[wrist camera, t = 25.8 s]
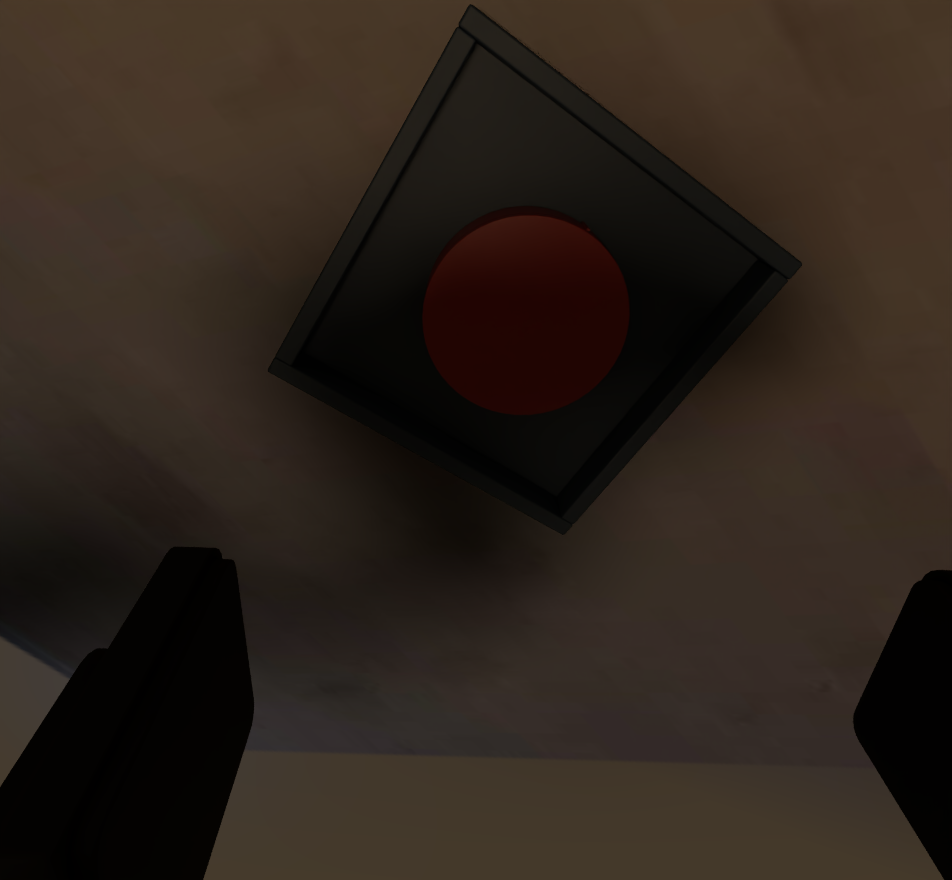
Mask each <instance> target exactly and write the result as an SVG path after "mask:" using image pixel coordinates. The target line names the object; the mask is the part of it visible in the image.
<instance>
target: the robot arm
mask: <svg viewBox="0 0 952 880" xmlns="http://www.w3.org/2000/svg"><path fill="white" fill-rule="evenodd" d="M253 714H254V697H253V690H252V682H251V675H250V667H249V660H248V652H247V645H246V638H245V630H244V623H243V615H242V608H241V600H240V593H239V585H238V578H237V570H236V565H235V562H234V561H233V560H231V559H223V558H222V554H221V552H220V550H219V549H217V548H203V547H173V548H171V549H170V550H169V551H168V552H167V553H166V555H165V557H164V558H163V560H162V562H161V563H160V565H159V566H158V568H157V570H156V571H155V573H154V575H153V576H152V578H151V579H150V581H149V583H148V584H147V586H146V588H145V589H144V591H143V592H142V594H141V596H140V597H139V599H138V601H137V602H136V604H135V605H134V607H133V609H132V610H131V612H130V614H129V615H128V617H127V618H126V620H125V622H124V623H123V625H122V627H121V628H120V630H119V632H118V633H117V635H116V636H115V638H114V640H113V641H112V643H111V645H110V646H109V648H108V649H106V648H97V649H95V650H93V651H92V652H90V653H89V654H88V655H87V656H86V657H85V658H84V660H83V661H82V662H81V663H80V664H79V666H78V668H77V669H76V671H75V672H74V674H73V675H72V677H71V678H70V680H69V682H68V683H67V685H66V686H65V688H64V689H63V691H62V693H61V694H60V695H59V697H58V699H57V700H56V702H55V703H54V705H53V706H52V708H51V709H50V711H49V712H48V714H47V716H46V717H45V719H44V720H43V722H42V723H41V725H40V726H39V728H38V729H37V731H36V732H35V734H34V736H33V737H32V739H31V740H30V742H29V743H28V745H27V746H26V748H25V750H24V751H23V753H22V754H21V756H20V757H19V759H18V760H17V762H16V763H15V765H14V766H13V768H12V770H11V771H10V773H9V774H8V776H7V777H6V779H5V780H4V782H3V783H2V785H1V787H0V880H203V878H204V875H205V872H206V869H207V866H208V862H209V859H210V856H211V853H212V850H213V847H214V844H215V840H216V837H217V834H218V831H219V828H220V825H221V822H222V818H223V815H224V812H225V809H226V806H227V803H228V799H229V796H230V793H231V790H232V787H233V784H234V780H235V777H236V774H237V771H238V768H239V765H240V761H241V758H242V755H243V752H244V749H245V746H246V743H247V739H248V736H249V733H250V730H251V726H252V721H253ZM853 724H854V730H855V733H856V736H857V738H858V740H859V742H860V743H861V745H862V747H863V748H864V750H865V752H866V753H867V755H868V756H869V758H870V760H871V761H872V763H873V765H874V766H875V768H876V769H877V771H878V773H879V774H880V776H881V778H882V779H883V781H884V782H885V784H886V786H887V787H888V789H889V791H890V792H891V794H892V795H893V797H894V798H895V800H896V802H897V804H898V805H899V807H900V808H901V810H902V812H903V813H904V815H905V817H906V818H907V820H908V821H909V823H910V825H911V826H912V828H913V829H914V831H915V833H916V834H917V836H918V838H919V839H920V841H921V843H922V844H923V846H924V847H925V849H926V851H927V852H928V854H929V856H930V857H931V859H932V860H933V862H934V864H935V865H936V867H937V869H938V870H939V872H940V873H941V875H942V877H943V878H944V880H952V570H935V571H930V572H929V573H927V574H926V575H925V576H924V577H923V579H922V580H921V581H918V582H916V583H915V584H914V585H913V587H912V588H911V591H910V593H909V595H908V597H907V599H906V601H905V604H904V606H903V608H902V610H901V612H900V614H899V617H898V619H897V621H896V623H895V625H894V627H893V630H892V632H891V634H890V636H889V638H888V640H887V642H886V645H885V647H884V649H883V651H882V653H881V655H880V658H879V660H878V662H877V664H876V666H875V668H874V671H873V673H872V675H871V677H870V679H869V681H868V684H867V686H866V688H865V690H864V692H863V694H862V697H861V699H860V701H859V703H858V705H857V707H856V709H855V712H854V717H853Z"/></svg>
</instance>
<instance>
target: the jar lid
mask: <svg viewBox="0 0 952 880" xmlns="http://www.w3.org/2000/svg"><path fill="white" fill-rule="evenodd" d="M629 316H630V309H629V297H628V291H627V287H626V283H625V280H624V277H623V275H622V272H621V270H620V268H619V266H618V264H617V263H616V261H615V260H614V258H613V257H612V255H611V254H610V252H609V251H608V250H607V248H606V247H605V246H604V245H603V244H602V242H601V241H600V240H599V239H598V238H597V237H596V236H595V235H594V233H593V232H592V231H590V228H589V227H588V226H587V224H586V223H585V222H584V221H582V222H581V223H580V222H579V221H577V220H575V219H574V218H572V217H570V216H568V215H566V214H563V213H561V212H559V211H555V210H552V209H548V208H543V207H535V206H517V207H510V208H504V209H500V210H497V211H493V212H491V213H488V214H486V215H484V216H481V217H479V218H477V219H476V220H474V221H473V222H471V223H469V224H468V225H466V226H465V227H464V228H463V229H461V230H460V231H459V232H458V233H457V234H456V235H455V236H454V237H453V238H452V239H451V240H450V241H449V242H448V243H447V244H446V246H445V247H444V249H443V250H442V251H441V253H440V254H439V256H438V258H437V260H436V262H435V264H434V265H433V268H432V271H431V273H430V276H429V280H428V284H427V288H426V293H425V298H424V303H423V314H422V321H423V333H424V338H425V343H426V346H427V349H428V352H429V355H430V357H431V359H432V361H433V363H434V365H435V367H436V368H437V370H438V371H439V373H440V374H441V376H442V377H443V378H444V379H445V381H446V382H447V383H448V384H449V385H450V386H451V387H452V388H453V389H454V390H455V391H457V392H458V393H459V394H460V395H462V396H463V397H465V398H466V399H468V400H469V401H471V402H473V403H475V404H477V405H479V406H481V407H483V408H486V409H489V410H492V411H496V412H500V413H504V414H513V415H532V414H539V413H545V412H549V411H553V410H556V409H559V408H561V407H564V406H567V405H568V404H570V403H572V402H574V401H576V400H578V399H580V398H581V397H582V396H584V395H585V394H587V393H588V392H590V391H591V390H592V389H593V388H594V387H595V386H596V385H598V384H599V383H600V381H601V380H602V379H603V378H604V377H605V376H606V375H607V374H608V372H609V371H610V369H611V368H612V367H613V365H614V364H615V362H616V360H617V358H618V356H619V354H620V353H621V350H622V347H623V345H624V342H625V339H626V335H627V331H628V326H629Z"/></svg>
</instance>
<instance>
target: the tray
mask: <svg viewBox="0 0 952 880" xmlns="http://www.w3.org/2000/svg"><path fill="white" fill-rule="evenodd" d="M517 206H535V207H543V208H548V209H552V210H555V211H559V212H561V213H563V214H566V215H568V216H570V217H572V218H574V219H575V220H577V221H579V222H580V223H581V222H582V221H584V222H585V223H586V224H587V226H588V227H589V228H590V231H592V232H593V233H594V235H595V236H596V237H597V238H598V239H599V240H600V241H601V242H602V244H603V245H604V246H605V247H606V248H607V250H608V251H609V252H610V254H611V255H612V257H613V258H614V260H615V261H616V263H617V264H618V266H619V268H620V270H621V272H622V275H623V277H624V280H625V283H626V287H627V291H628V297H629V309H630V316H629V326H628V331H627V335H626V339H625V342H624V345H623V347H622V350H621V353H620V354H619V356H618V358H617V360H616V362H615V364H614V365H613V367H612V368H611V369H610V371H609V372H608V374H607V375H606V376H605V377H604V378H603V379H602V380H601V381H600V383H599V384H598V385H596V386H595V387H594V388H593V389H592V390H591V391H590V392H588V393H587V394H585V395H584V396H582V397H581V398H580V399H578V400H576V401H574V402H572V403H570V404H568V405H567V406H564V407H561V408H559V409H556V410H553V411H549V412H545V413H539V414H532V415H513V414H504V413H500V412H496V411H492V410H489V409H486V408H483V407H481V406H479V405H477V404H475V403H473V402H471V401H469V400H468V399H466V398H465V397H463V396H462V395H460V394H459V393H458V392H457V391H455V390H454V389H453V388H452V387H451V386H450V385H449V384H448V383H447V382H446V381H445V379H444V378H443V377H442V376H441V374H440V373H439V371H438V370H437V368H436V367H435V365H434V363H433V361H432V359H431V357H430V355H429V352H428V349H427V346H426V343H425V338H424V333H423V321H422V314H423V303H424V298H425V293H426V288H427V284H428V280H429V276H430V273H431V271H432V268H433V265H434V264H435V262H436V260H437V258H438V256H439V254H440V253H441V251H442V250H443V249H444V247H445V246H446V244H447V243H448V242H449V241H450V240H451V239H452V238H453V237H454V236H455V235H456V234H457V233H458V232H459V231H460V230H461V229H463V228H464V227H465V226H466V225H468V224H469V223H471V222H473V221H474V220H476V219H477V218H479V217H481V216H484V215H486V214H488V213H491V212H493V211H497V210H500V209H504V208H510V207H517ZM801 266H802V263H801V262H800V261H799V260H798V259H796V258H795V257H794V256H793V255H791V254H790V253H789V252H788V251H786V250H785V249H784V248H782V247H781V246H780V245H779V244H777V243H776V242H775V241H773V240H772V239H771V238H770V237H768V236H767V235H766V234H765V233H763V232H762V231H761V230H759V229H758V228H757V227H756V226H754V225H753V224H752V223H750V222H749V221H748V220H747V219H745V218H744V217H743V216H742V215H740V214H739V213H738V212H736V211H735V210H734V209H733V208H731V207H730V206H729V205H728V204H726V203H725V202H724V201H722V200H721V199H720V198H719V197H717V196H716V195H715V194H713V193H712V192H711V191H710V190H708V189H707V188H706V187H705V186H703V185H702V184H701V183H699V182H698V181H697V180H696V179H694V178H693V177H692V176H690V175H689V174H688V173H687V172H685V171H684V170H683V169H682V168H680V167H679V166H678V165H676V164H675V163H674V162H673V161H671V160H670V159H669V158H667V157H666V156H665V155H664V154H662V153H661V152H660V151H659V150H657V149H656V148H655V147H653V146H652V145H651V144H650V143H648V142H647V141H646V140H645V139H643V138H642V137H641V136H639V135H638V134H637V133H636V132H634V131H633V130H632V129H630V128H629V127H628V126H627V125H625V124H624V123H623V122H622V121H620V120H619V119H618V118H616V117H615V116H614V115H613V114H611V113H610V112H609V111H607V110H606V109H605V108H604V107H602V106H601V105H600V104H599V103H597V102H596V101H595V100H593V99H592V98H591V97H590V96H588V95H587V94H586V93H584V92H583V91H582V90H581V89H579V88H578V87H577V86H576V85H574V84H573V83H572V82H570V81H569V80H568V79H567V78H565V77H564V76H563V75H561V74H560V73H559V72H558V71H556V70H555V69H554V68H553V67H551V66H550V65H549V64H547V63H546V62H545V61H544V60H542V59H541V58H540V57H539V56H537V55H536V54H535V53H533V52H532V51H531V50H530V49H528V48H527V47H526V46H524V45H523V44H522V43H521V42H519V41H518V40H517V39H516V38H514V37H513V36H512V35H510V34H509V33H508V32H507V31H505V30H504V29H503V28H501V27H500V26H499V25H498V24H496V23H495V22H494V21H493V20H491V19H490V18H489V17H487V16H486V15H485V14H484V13H482V12H481V11H480V10H478V9H477V8H476V7H475V6H473V5H471V4H470V5H469V6H468V8H467V9H466V11H465V13H464V15H463V17H462V18H461V20H460V22H459V27H457V28H456V29H455V31H454V33H453V35H452V37H451V38H450V40H449V42H448V44H447V46H446V47H445V49H444V51H443V53H442V55H441V57H440V58H439V60H438V62H437V64H436V66H435V67H434V69H433V71H432V73H431V75H430V76H429V78H428V80H427V82H426V84H425V86H424V87H423V89H422V91H421V93H420V95H419V96H418V98H417V100H416V102H415V104H414V105H413V107H412V109H411V111H410V113H409V115H408V116H407V118H406V120H405V122H404V124H403V125H402V127H401V129H400V131H399V133H398V134H397V136H396V138H395V140H394V142H393V144H392V145H391V147H390V149H389V151H388V153H387V154H386V156H385V158H384V160H383V162H382V163H381V165H380V167H379V169H378V171H377V173H376V174H375V176H374V178H373V180H372V182H371V183H370V185H369V187H368V189H367V191H366V192H365V194H364V196H363V198H362V200H361V202H360V203H359V205H358V207H357V209H356V211H355V212H354V214H353V216H352V218H351V220H350V221H349V223H348V225H347V227H346V229H345V231H344V232H343V234H342V236H341V238H340V240H339V241H338V243H337V245H336V247H335V249H334V250H333V252H332V254H331V256H330V258H329V260H328V261H327V263H326V265H325V267H324V269H323V270H322V272H321V274H320V276H319V278H318V279H317V281H316V283H315V285H314V287H313V289H312V290H311V292H310V294H309V296H308V298H307V299H306V301H305V303H304V305H303V307H302V308H301V310H300V312H299V314H298V316H297V318H296V319H295V321H294V323H293V325H292V327H291V328H290V330H289V332H288V334H287V336H286V337H285V339H284V341H283V343H282V345H281V347H280V348H279V350H278V352H277V354H276V356H275V358H274V359H273V361H272V363H271V365H270V366H269V368H268V372H270V373H272V374H273V375H275V376H277V377H279V378H281V379H282V380H284V381H286V382H288V383H290V384H291V385H293V386H295V387H297V388H299V389H300V390H302V391H304V392H306V393H308V394H310V395H311V396H313V397H315V398H317V399H319V400H320V401H322V402H324V403H326V404H328V405H329V406H331V407H333V408H335V409H337V410H338V411H340V412H342V413H344V414H346V415H347V416H349V417H351V418H353V419H355V420H356V421H358V422H360V423H362V424H364V425H366V426H367V427H369V428H371V429H373V430H375V431H376V432H378V433H380V434H382V435H384V436H385V437H387V438H389V439H391V440H393V441H394V442H396V443H398V444H400V445H402V446H403V447H405V448H407V449H409V450H411V451H412V452H414V453H416V454H418V455H420V456H421V457H423V458H425V459H427V460H429V461H431V462H432V463H434V464H436V465H438V466H440V467H441V468H443V469H445V470H447V471H449V472H450V473H452V474H454V475H456V476H458V477H459V478H461V479H463V480H465V481H467V482H468V483H470V484H472V485H474V486H476V487H477V488H479V489H481V490H483V491H485V492H487V493H488V494H490V495H492V496H494V497H496V498H497V499H499V500H501V501H503V502H505V503H506V504H508V505H510V506H512V507H514V508H515V509H517V510H519V511H521V512H523V513H524V514H526V515H528V516H530V517H532V518H533V519H535V520H537V521H539V522H541V523H543V524H544V525H546V526H548V527H550V528H552V529H553V530H555V531H557V532H559V533H561V534H562V535H564V534H565V533H566V532H567V531H568V530H569V529H570V528H571V527H572V524H574V523H575V522H576V521H577V520H578V519H579V517H580V516H581V515H582V514H583V513H584V512H585V511H586V510H587V508H588V507H589V506H590V505H591V504H592V503H593V502H594V500H595V499H596V498H597V497H598V496H599V495H600V494H601V493H602V491H603V490H604V489H605V488H606V487H607V486H608V485H609V483H610V482H611V481H612V480H613V479H614V478H615V477H616V476H617V474H618V473H619V472H620V471H621V470H622V469H623V468H624V466H625V465H626V464H627V463H628V462H629V461H630V460H631V459H632V457H633V456H634V455H635V454H636V453H637V452H638V451H639V449H640V448H641V447H642V446H643V445H644V444H645V443H646V442H647V440H648V439H649V438H650V437H651V436H652V435H653V434H654V432H655V431H656V430H657V429H658V428H659V427H660V426H661V425H662V423H663V422H664V421H665V420H666V419H667V418H668V417H669V415H670V414H671V413H672V412H673V411H674V410H675V409H676V408H677V406H678V405H679V404H680V403H681V402H682V401H683V400H684V398H685V397H686V396H687V395H688V394H689V393H690V392H691V391H692V389H693V388H694V387H695V386H696V385H697V384H698V383H699V381H700V380H701V379H702V378H703V377H704V376H705V375H706V374H707V372H708V371H709V370H710V369H711V368H712V367H713V366H714V364H715V363H716V362H717V361H718V360H719V359H720V358H721V357H722V355H723V354H724V353H725V352H726V351H727V350H728V349H729V348H730V346H731V345H732V344H733V343H734V342H735V341H736V340H737V338H738V337H739V336H740V335H741V334H742V333H743V332H744V331H745V329H746V328H747V327H748V326H749V325H750V324H751V323H752V321H753V320H754V319H755V318H756V317H757V316H758V315H759V314H760V312H761V311H762V310H763V309H764V308H765V307H766V306H767V304H768V303H769V302H770V301H771V300H772V299H773V298H774V297H775V295H776V294H777V293H778V292H779V291H780V290H781V289H782V287H783V286H784V285H785V284H786V283H787V282H788V280H787V279H790V278H791V277H792V276H793V275H794V274H795V273H796V272H797V270H798V269H799V268H800V267H801Z"/></svg>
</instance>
